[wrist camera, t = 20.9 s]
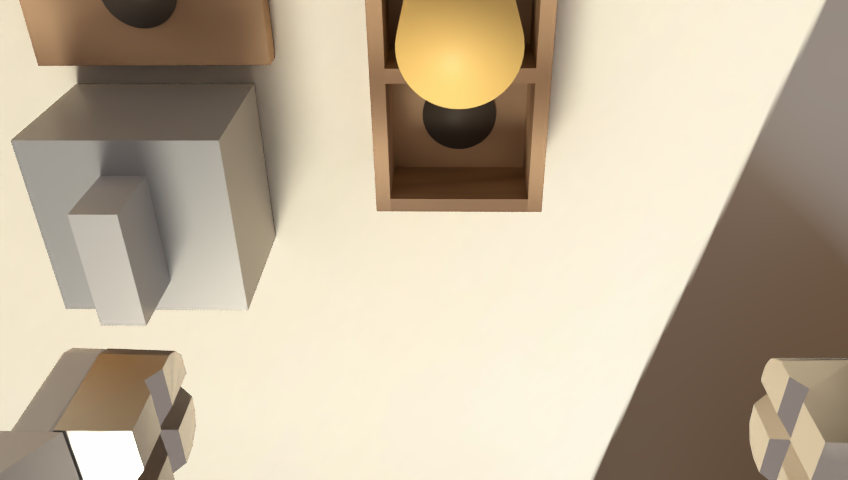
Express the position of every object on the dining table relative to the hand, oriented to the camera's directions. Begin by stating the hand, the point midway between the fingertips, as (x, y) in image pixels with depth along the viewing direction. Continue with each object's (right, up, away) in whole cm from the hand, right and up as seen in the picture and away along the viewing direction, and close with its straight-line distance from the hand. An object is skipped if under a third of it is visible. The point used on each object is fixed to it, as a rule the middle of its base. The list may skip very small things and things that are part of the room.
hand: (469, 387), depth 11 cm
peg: (+1, +12, +20) cm, 23 cm away
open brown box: (+1, +10, +22) cm, 24 cm away
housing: (-12, +6, +25) cm, 29 cm away
